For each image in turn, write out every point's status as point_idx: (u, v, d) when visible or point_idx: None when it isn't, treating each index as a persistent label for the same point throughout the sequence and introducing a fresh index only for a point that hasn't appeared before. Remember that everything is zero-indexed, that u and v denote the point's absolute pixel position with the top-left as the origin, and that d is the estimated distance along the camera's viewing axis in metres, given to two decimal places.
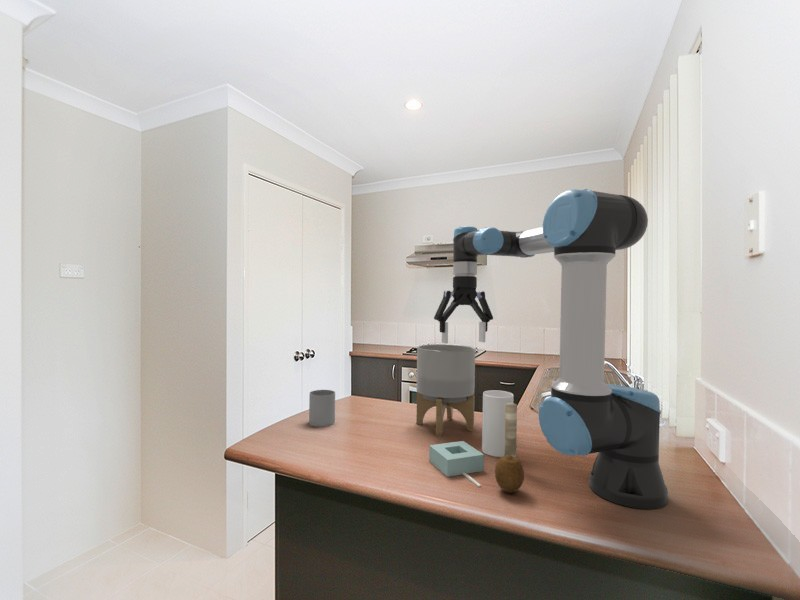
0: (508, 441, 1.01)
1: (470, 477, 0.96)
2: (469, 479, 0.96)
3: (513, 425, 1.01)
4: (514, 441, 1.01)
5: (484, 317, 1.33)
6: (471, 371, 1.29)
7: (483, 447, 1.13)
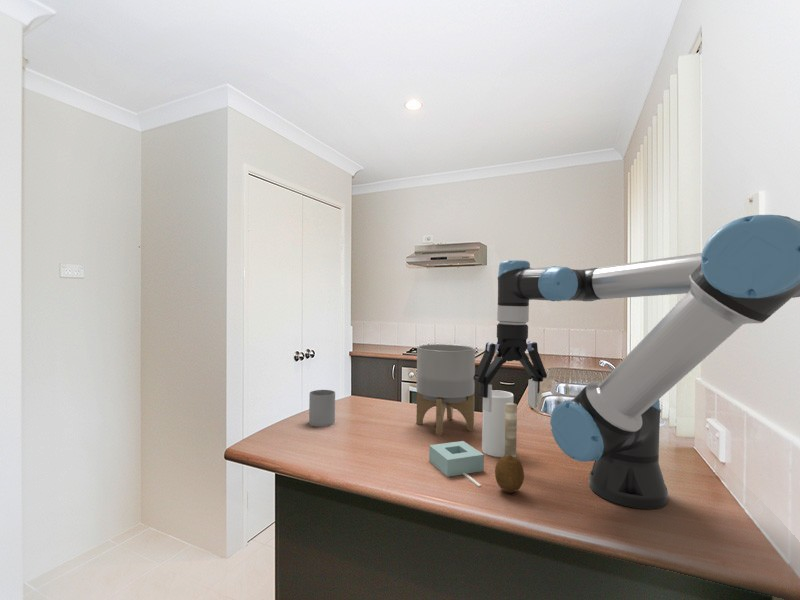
0: (508, 441, 1.01)
1: (470, 477, 0.96)
2: (469, 479, 0.96)
3: (513, 425, 1.01)
4: (514, 441, 1.01)
5: (536, 375, 1.04)
6: (471, 371, 1.29)
7: (483, 447, 1.13)
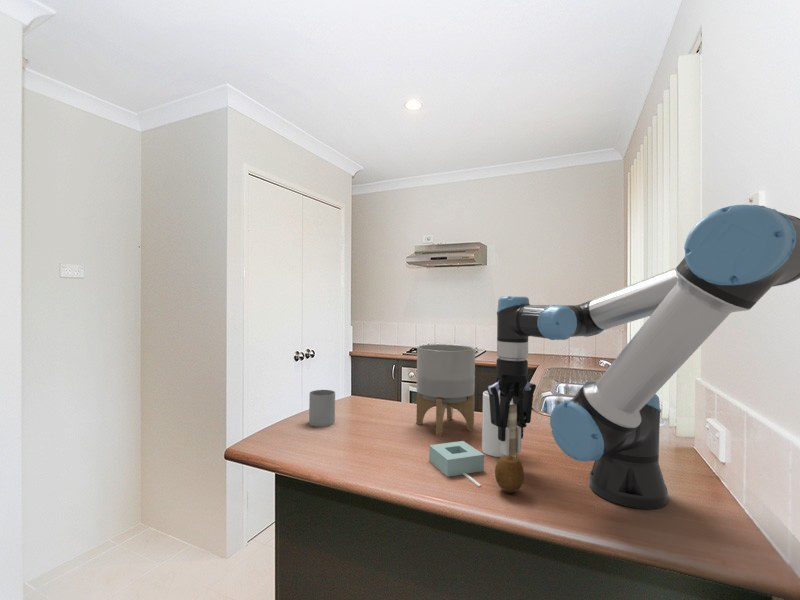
0: None
1: (470, 477, 0.96)
2: (469, 479, 0.96)
3: (513, 425, 1.01)
4: (514, 441, 1.01)
5: (521, 419, 1.02)
6: (471, 371, 1.29)
7: (483, 447, 1.13)
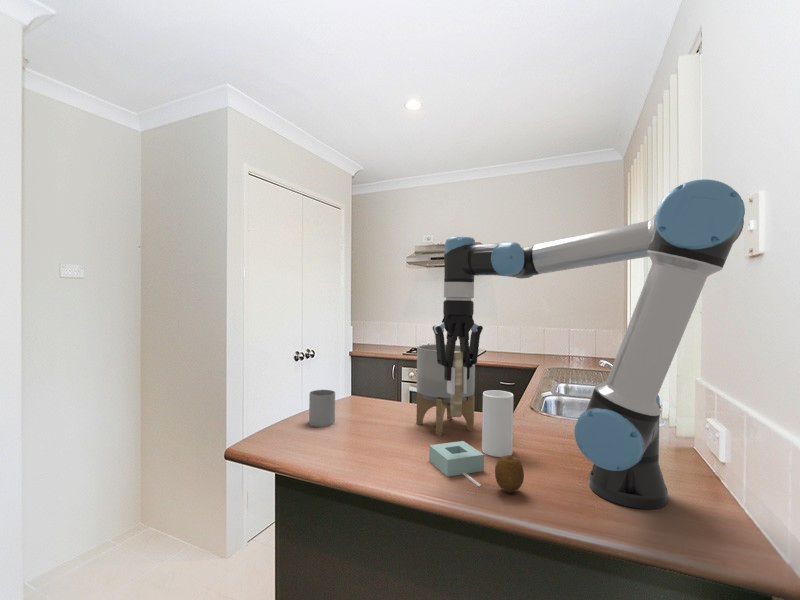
0: None
1: (470, 477, 0.96)
2: (469, 479, 0.96)
3: (459, 372, 1.02)
4: (459, 388, 1.02)
5: (467, 360, 1.03)
6: (471, 371, 1.29)
7: (483, 447, 1.13)
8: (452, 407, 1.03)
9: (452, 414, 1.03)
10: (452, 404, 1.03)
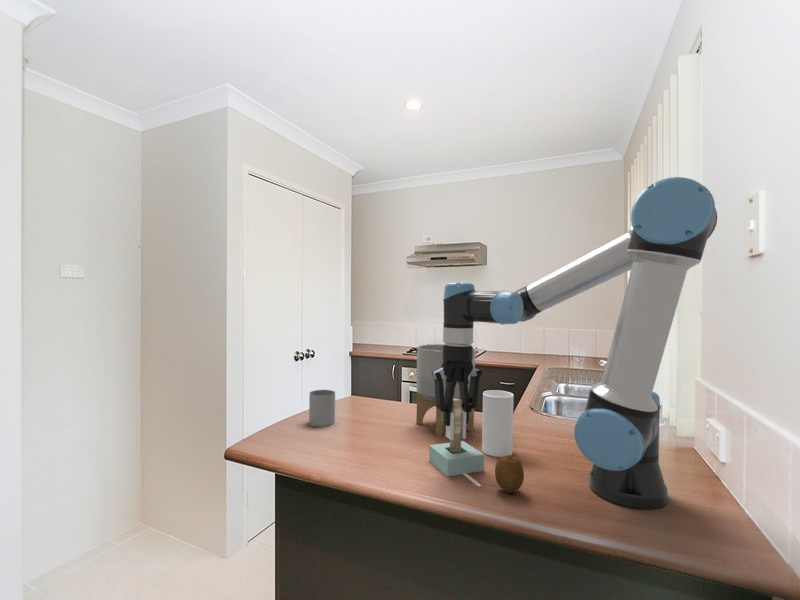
0: None
1: (470, 477, 0.96)
2: (469, 479, 0.96)
3: (458, 420, 1.03)
4: (458, 436, 1.03)
5: (466, 404, 1.03)
6: None
7: (483, 447, 1.13)
8: None
9: None
10: (451, 452, 1.03)
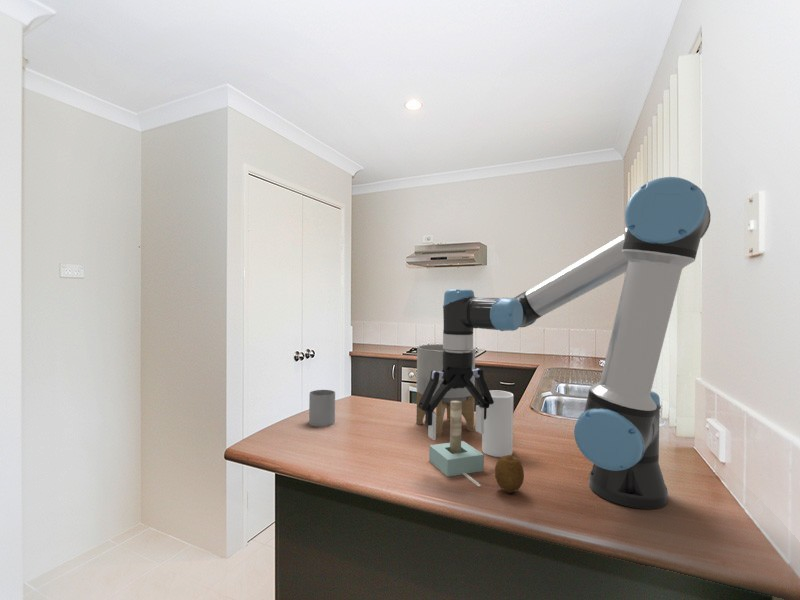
0: (453, 438, 1.03)
1: (470, 477, 0.96)
2: (469, 479, 0.96)
3: (458, 422, 1.03)
4: (458, 439, 1.03)
5: (482, 402, 1.05)
6: None
7: (483, 447, 1.13)
8: None
9: None
10: None
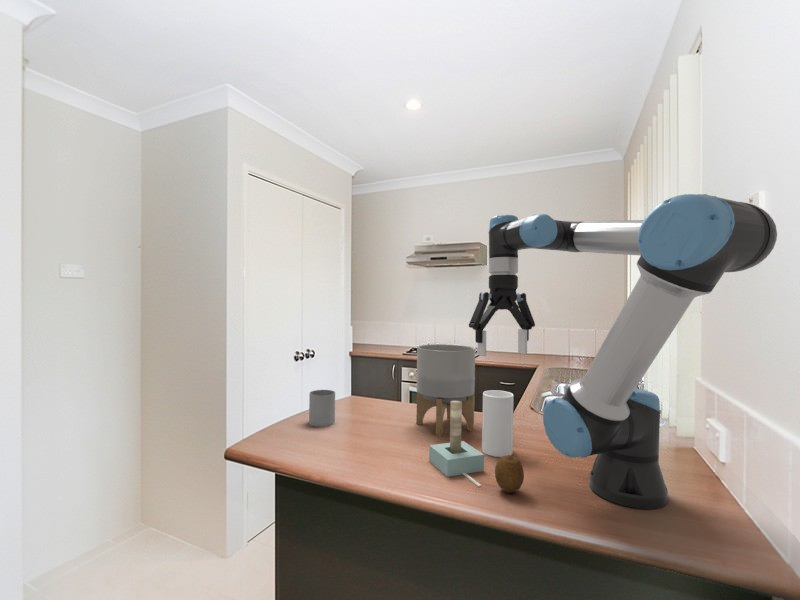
0: (453, 438, 1.03)
1: (470, 477, 0.96)
2: (469, 479, 0.96)
3: (458, 422, 1.03)
4: (458, 439, 1.03)
5: (525, 324, 1.12)
6: (471, 371, 1.29)
7: (483, 447, 1.13)
8: None
9: None
10: None
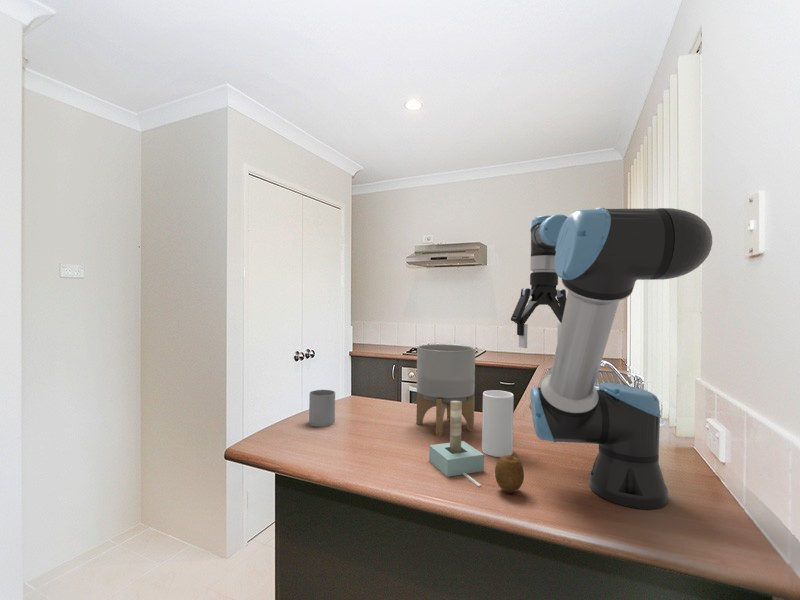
0: (453, 438, 1.03)
1: (470, 477, 0.96)
2: (469, 479, 0.96)
3: (458, 422, 1.03)
4: (458, 439, 1.03)
5: None
6: (471, 371, 1.29)
7: (483, 447, 1.13)
8: None
9: None
10: None
